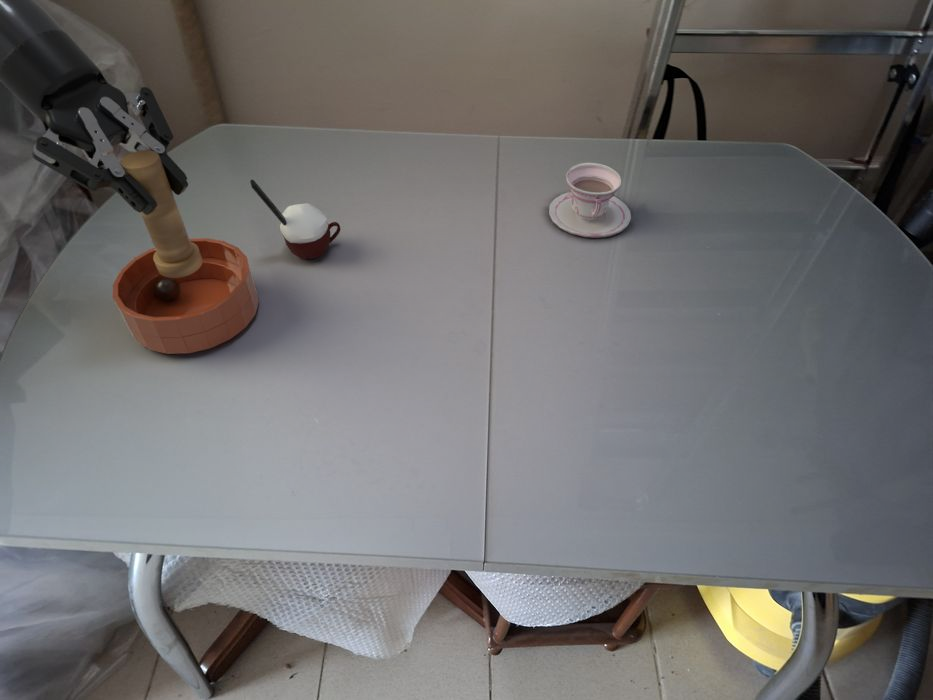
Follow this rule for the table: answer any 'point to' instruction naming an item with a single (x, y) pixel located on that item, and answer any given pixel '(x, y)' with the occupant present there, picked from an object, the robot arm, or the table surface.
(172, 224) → the wooden flanged peg
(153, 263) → the bowl
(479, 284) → the table surface
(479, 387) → the table surface
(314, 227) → the cocoa
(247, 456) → the table surface
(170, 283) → the bead
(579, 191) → the teacup
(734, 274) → the table surface
